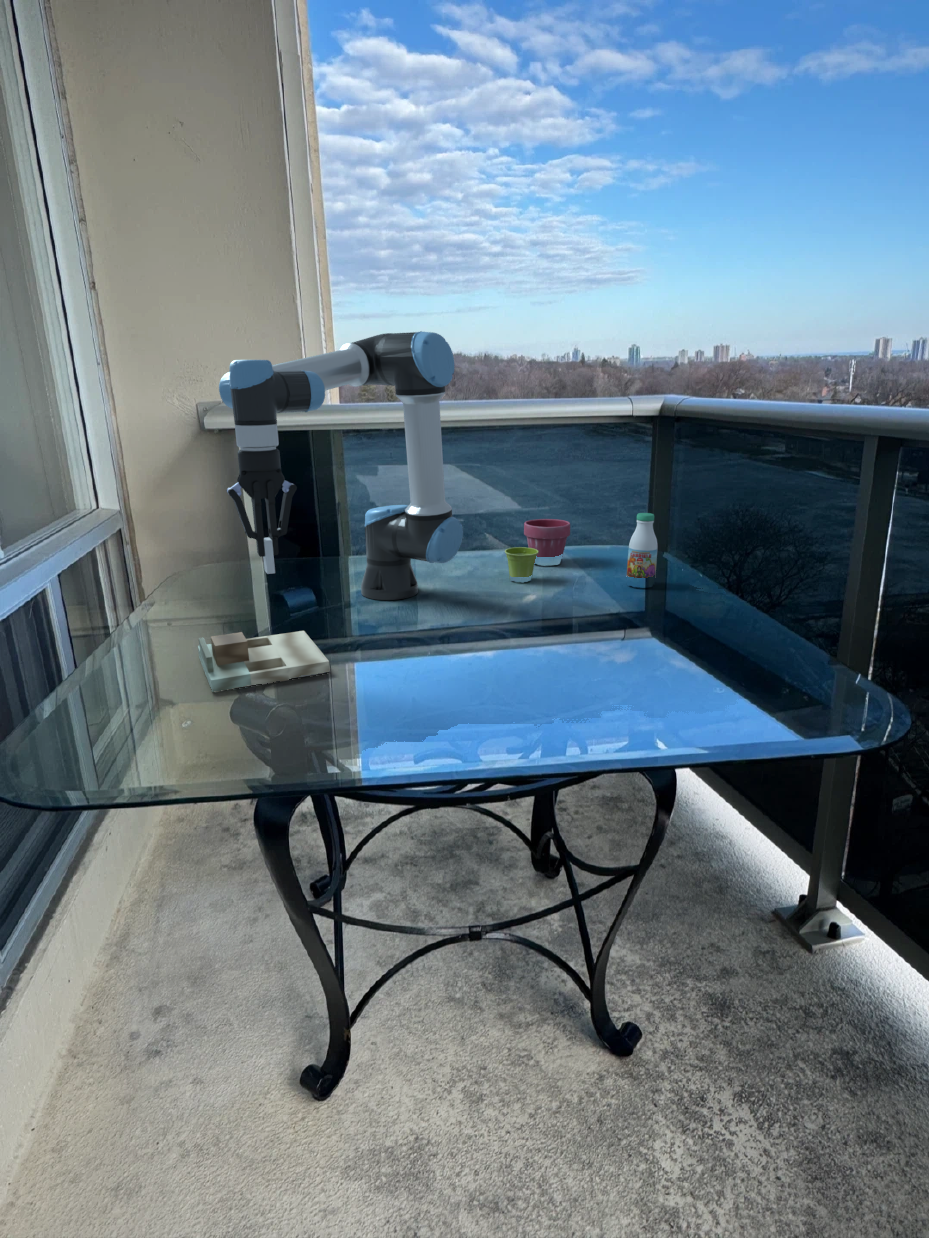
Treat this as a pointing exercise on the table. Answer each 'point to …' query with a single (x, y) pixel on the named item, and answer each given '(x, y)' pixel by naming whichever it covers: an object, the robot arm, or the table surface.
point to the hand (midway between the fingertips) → (269, 571)
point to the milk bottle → (642, 548)
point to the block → (229, 648)
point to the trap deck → (265, 661)
